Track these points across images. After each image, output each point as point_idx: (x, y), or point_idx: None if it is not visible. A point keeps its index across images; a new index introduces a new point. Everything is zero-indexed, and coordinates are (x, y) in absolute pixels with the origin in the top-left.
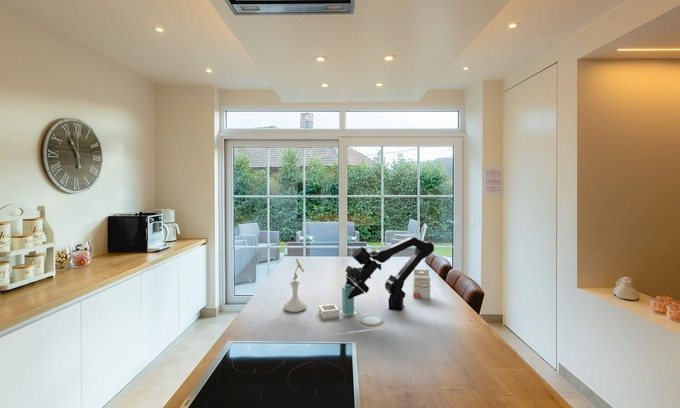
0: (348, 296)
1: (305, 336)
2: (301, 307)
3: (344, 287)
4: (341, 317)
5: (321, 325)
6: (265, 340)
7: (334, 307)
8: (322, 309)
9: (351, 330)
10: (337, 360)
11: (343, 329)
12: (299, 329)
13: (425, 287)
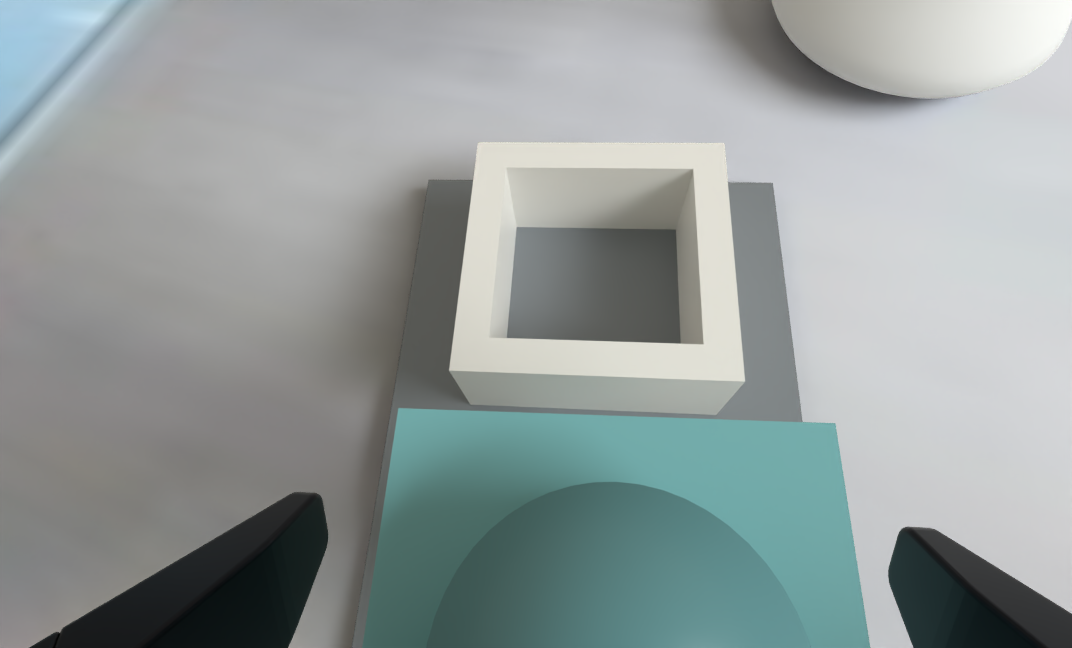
0: (265, 511)
1: (223, 25)
2: (809, 8)
3: (631, 473)
4: None
5: (364, 173)
6: None
7: (617, 348)
8: (552, 154)
9: (61, 427)
10: None
11: (142, 350)
12: (377, 4)
13: None
